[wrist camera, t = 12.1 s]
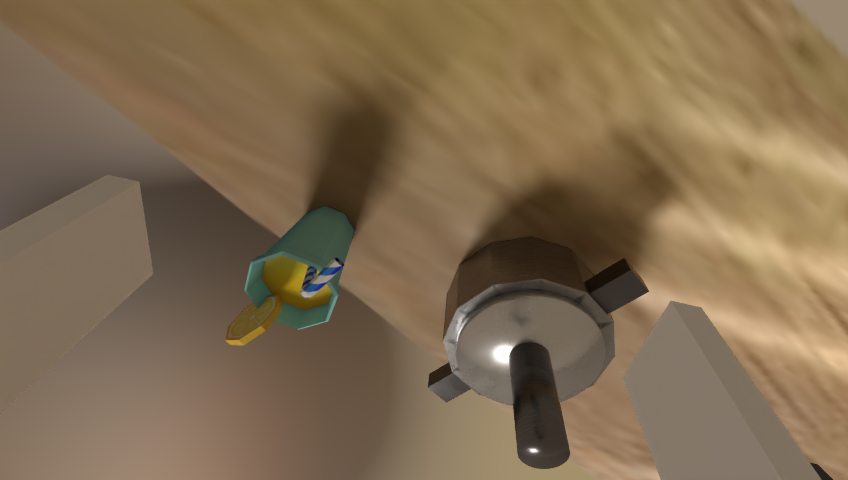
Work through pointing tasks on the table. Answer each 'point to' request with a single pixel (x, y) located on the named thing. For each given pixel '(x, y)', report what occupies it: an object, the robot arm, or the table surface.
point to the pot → (530, 270)
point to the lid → (532, 364)
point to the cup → (296, 276)
